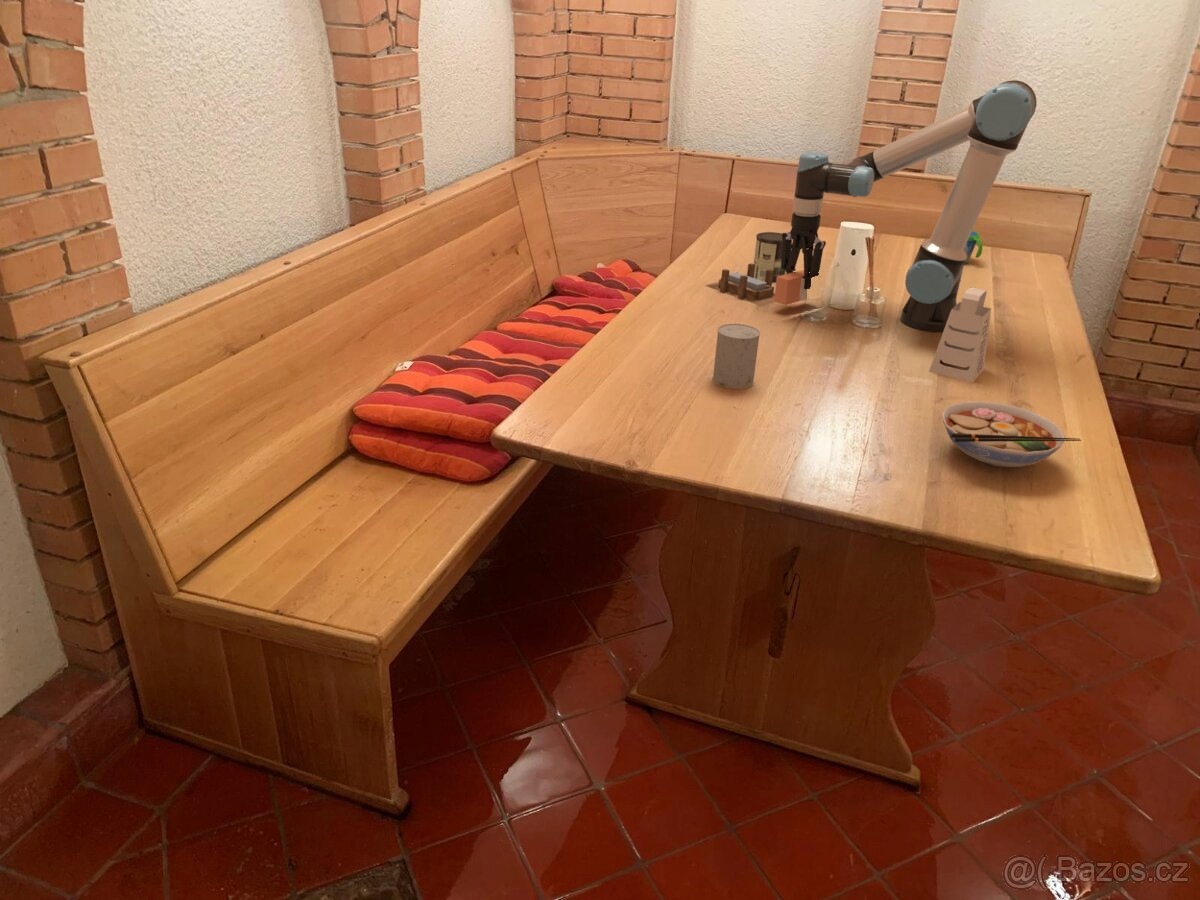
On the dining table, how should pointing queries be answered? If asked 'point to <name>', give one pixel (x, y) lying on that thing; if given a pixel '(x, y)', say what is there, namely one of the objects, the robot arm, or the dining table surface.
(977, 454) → the ramen bowl
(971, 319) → the grater
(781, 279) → the orange block
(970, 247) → the snack cup
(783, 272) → the coffee can
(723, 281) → the jig
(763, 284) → the blue-grey block
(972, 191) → the robot arm
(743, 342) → the grey concrete cylinder
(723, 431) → the dining table surface
